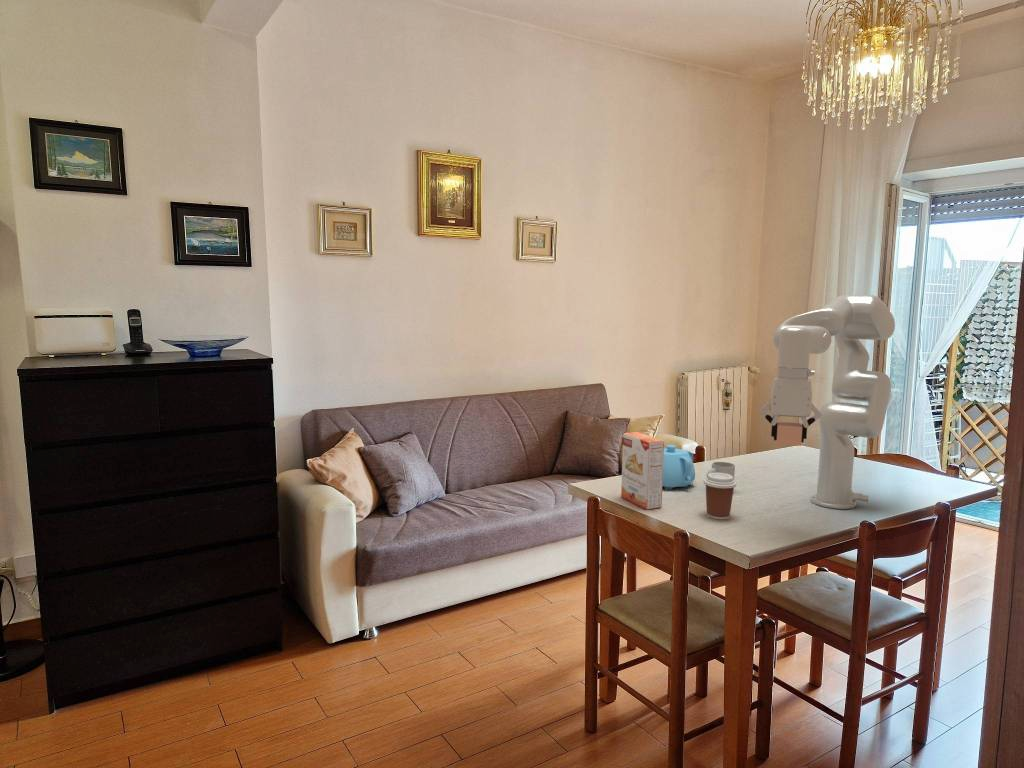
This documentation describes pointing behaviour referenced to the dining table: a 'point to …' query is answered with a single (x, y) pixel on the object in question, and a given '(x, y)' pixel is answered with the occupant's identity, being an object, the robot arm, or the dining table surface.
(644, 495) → the cracker box
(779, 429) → the stacking block
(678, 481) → the decorative pot
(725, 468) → the cup
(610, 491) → the dining table surface
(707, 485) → the coffee cup
